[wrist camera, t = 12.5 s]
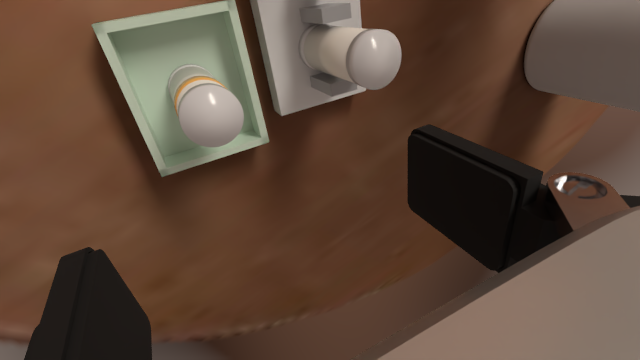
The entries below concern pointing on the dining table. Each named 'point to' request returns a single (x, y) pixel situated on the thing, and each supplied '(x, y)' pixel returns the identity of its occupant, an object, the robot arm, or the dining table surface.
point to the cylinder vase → (587, 51)
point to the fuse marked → (204, 106)
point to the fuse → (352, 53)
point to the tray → (163, 58)
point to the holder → (283, 54)
